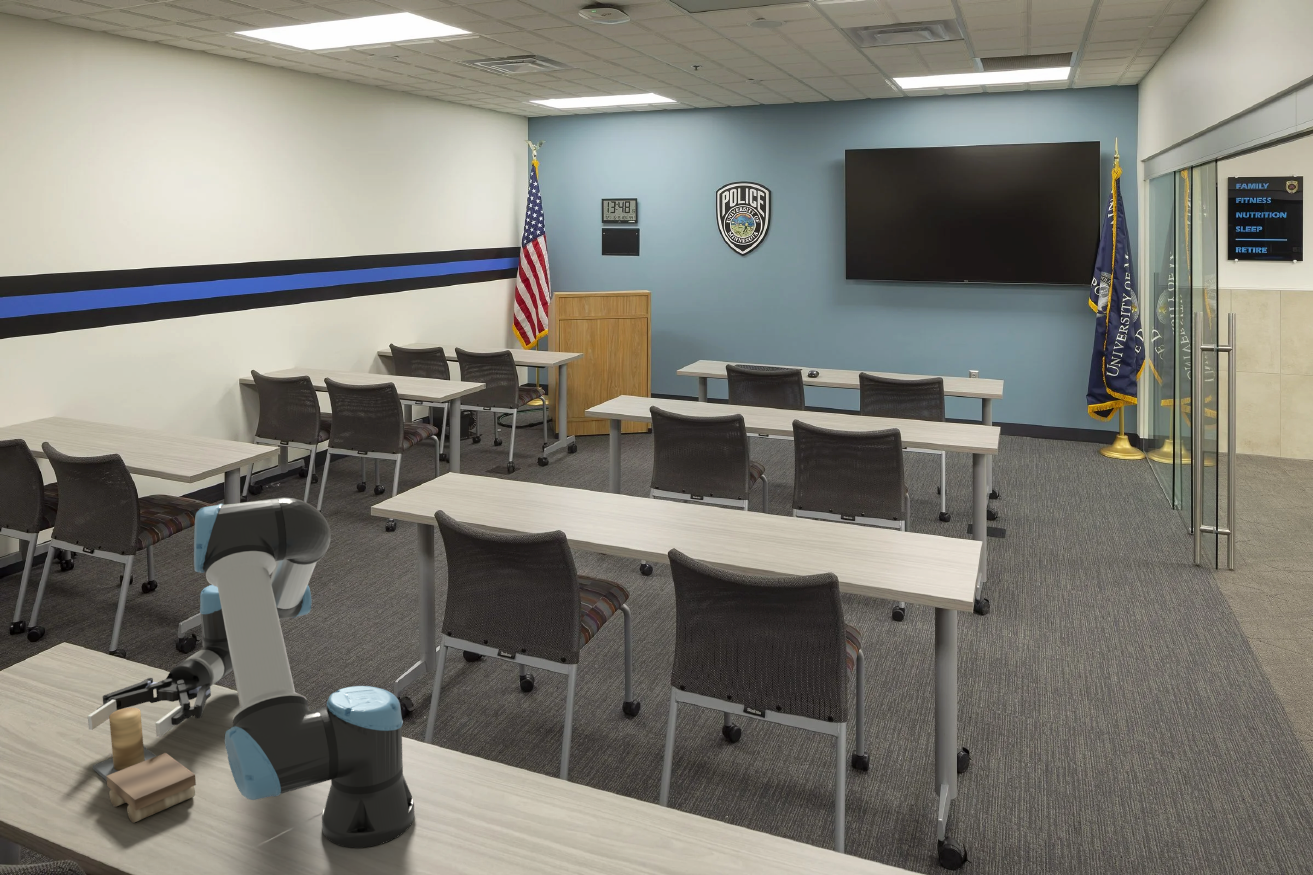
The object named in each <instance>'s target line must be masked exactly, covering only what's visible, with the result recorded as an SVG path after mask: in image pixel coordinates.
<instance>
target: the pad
mask: <svg viewBox="0 0 1313 875" xmlns="http://www.w3.org/2000/svg"><path fill="white" fill-rule="evenodd" d="M143 747H144V758H145V761H146V760H148V759H151V758H153V757H156V756H157V755H156V754H154V752H152V751H151V750H149V749H148V748H146V747H145V746H144V745H143ZM92 770H93V771H94V772H96V773H97V774H98V775H99V776H100V777H101V778H102V779H103V780H105V781H106V782H107V777H106V776H107V775H110V774H112V773H115V772H118V771H117V770H115V769H114V764H113V757H111V758H108V759H105V760H103V761H101V762H97V763H95V764H93V765H92Z"/></svg>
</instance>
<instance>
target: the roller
mask: <svg viewBox="0 0 1313 875" xmlns="http://www.w3.org/2000/svg"><path fill="white" fill-rule="evenodd" d="M141 713H142V712H141V709H139V708H138V707H127V708H124V709H120V710H117V711H115V712H113V713H112V714H111V715H110V716H109V719H108V720H109V730H110V742H111V750H112V751H111V752H112V758H113V764H114V769H115V770H117V771H120V770H123V769H125V768H128V767H130V766H133V765H135V764H138V763H141V762H143V761H145V758H144V747H145V746H144V739H143V738H144V737H143V725H142V714H141ZM143 746H144V747H143Z"/></svg>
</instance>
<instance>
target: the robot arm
mask: <svg viewBox="0 0 1313 875" xmlns="http://www.w3.org/2000/svg"><path fill="white" fill-rule="evenodd" d="M193 531H194V532H193V534H194V537H193V538H194V539H193V542H194V543H193V566H194V568H193V569H194V572H196V573H200V574H205V578H206V580H207V582H208V583H209V584H210V585H208V586H206V587H204V588H203V589H202V590H201V592H200V595H199V598H200V599H199V600H200V603H199V605H200V606H199V607H200V608H199V613H200V624H201V625H200V626H201V631H202V632H201V634H202V648H201V649H200V650H198V651H197V652H195V653H193V654H192V655H191V656H189V657H188V658H186V659H184V661H182V662H180V663H179V664H178V665H176V666H175V667H173V668H172V669H171V670H170V671H169V673H168V675H167V676H166V678H165V679H162V680H160V681H158V682H156V681H154V678H153V677H147V678H145V679H144V680H142V681H140V682H137V683H135V684H132V685H129V686H126V687H124V688H120V689H118V690H115V691H112V692H109V693H105V694H104V695H102V705H100V706H99V707H97V708H96V710H93V712H91V713H89V715H87V724H88V726H87V727H88V730H90V731H91V730H92V731H93V730H94V729H96V728H98V727H99V726H100V725H102V724H103V723H104V722H105V723H106V721H108V720H109V716H110V715H111V714H112V713H113V712H115V711H117V710H120V709H124V708H132V707H134V706H138V705H141V704H142V705H143V704H145V703H149V702H150V703H151V704H154V703H158V702H161V701H162V702H163V701H164V702H165V701H167V702H170V703H171V702H172V703H173V702H177V701H178V703H179V705H177V706H176V707H175V708H174V709H172V710H171V711H169V712H168V713H166V714H165V715H164V716H162V717H161V718H160V719H159V720H157V721H156V722H155V724H154V725H155V734H156V737H159V738H160V737H162V736H163V735H165V734H166V733H167V732H168V731H170V730H171V729H172V728H174V727H175V726H178V725H180V724H181V723H183V722H184V721H185V720H189V719H191V718H192V717H194V718H195V719H200V718H202V716H203V713H204V710H205V706H206V703H207V700H208V699H209V698H210V697H211V695H212V691H211V690H212V689H211V687H212V686H213V685H214V684H216V683H218V681H219V680H221V679H223V678H224V677H225V676H227V675H228V674H230V673H231V672H232V671H233V677H234V682H235V687H236V692H237V698H238V703H239V707H240V708H239V709H238V710H237V712H236V713H235V714H234V715H233V717H232V720H231V721H232V726H231V727H230V728H229V729H227V730H226V731H225V735H224V745H225V750H226V754H227V760H228V765H229V768H230V770H231V774H232V778H233V780H234V783H235V785H236V787H237V789H238V791H239V792H240V794H241V795H242V796H243V797H244V798H245V799H247V800H250V801H251V800H252V801H256V800H261V799H265V798H269V797H278V796H280V795H281V794H284V793H288V792H292V791H295V790H299V789H302V788H306V787H309V786H315V785H317V784H321V783H324V782H328V781H330V788H329V791H328V795H327V797H326V798H327V799H326V801H325V806H324V807H323V810H322V813H321V814H322V815H321V826H322V827H321V828H322V833H323V835H324V837H325V838H326V839H327V840H328V841H329V842H332V843H333V844H335V845H337V846H341V847H345V848H368V847H374V845H375V846H378V844H379V845H382V844H384V843H383V842H385V843H387V842H386V841H388V842H390V841H392V840H394V839H396V838H398V837H399V836H401V835H402V834H403V832H404V831H405V830H406V829H407V828H408V827H409V826H411V825H412V824H413V822H414V819H415V802H414V799H413V798H414V797H413V794H412V793H411V790H410V788H409V786H408V783H407V781H406V778H405V776H404V773H403V772H404V770H403V769H404V768H403V767H404V765H403V731H402V730H403V729H402V728H403V723H404V721H403V717H402V710H401V703H400V700H399V698H398V697H397V696H396V695H395V694H394V693H392V692H390V691H388V690H387V689H383V688H380V687H376V686H369V685H354V686H347V687H344V688H343V687H342V688H340V689H337V690H336V691H334V692H332V693H331V694H330V695H329V697H328V698H327V701H326V706H322V707H318V708H313V709H310V707H309V702H308V699H307V697H305V695H303V694H300V693H298V692H296V689H295V684H294V680H293V676H292V672H291V667H290V661H289V659H288V658H289V657H288V654H287V648H286V643H285V639H284V635H283V630H282V627H281V626H282V625H281V620H287V619H295V618H297V617H300V616H305V615H308V614H309V613H310V612H311V610H312V603H313V602H312V594H311V589H310V586H309V583H310V580H311V578H312V575H313V572H314V570H315V567H316V565H317V562H320V560H322V559H323V557H324V556H325V555H326V553H327V551H328V549H329V547H330V544H331V536H332V534H331V528H330V524H329V522H328V521H327V519H326V518H325V516H324V515H323V514H322V512H321V511H320V510H319V509H317V508H316V507H315V506H313V505H311V504H310V503H307V501H306V502H305V501H304V500H301V499H297V498H294V497H293V498H292V497H277V498H271V499H270V498H269V499H262V500H254V501H253V500H252V501H244V502H237V503H235V502H234V503H229V504H227V503H226V504H224V503H219V504H215V505H210V506H204V507H201V508H200V509H199V510H197V511H196V513H195V518H194V530H193ZM270 575H271V576H270ZM154 690H155V691H156V696H155V695H154ZM194 699H195V701H194V704H193V706H191V702H190V701H192V700H194ZM412 821H413V822H412ZM411 823H412V824H411ZM410 824H411V825H410ZM409 828H410V827H409ZM409 828H408V829H409ZM408 829H407V830H408ZM407 830H406V831H407ZM406 831H405V832H406ZM405 832H404V833H405ZM401 833H402V834H401ZM400 834H401V835H400ZM398 835H399V836H398ZM397 836H398V837H397ZM395 837H396V838H395ZM393 838H394V839H393ZM391 839H392V840H391ZM389 840H390V841H389ZM381 843H382V844H381Z"/></svg>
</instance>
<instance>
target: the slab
mask: <svg viewBox="0 0 1313 875" xmlns="http://www.w3.org/2000/svg"><path fill="white" fill-rule="evenodd" d="M106 777H107V781H106V786H107V787H108V788H109V789H110V790H109V794H108V795H109V800H110V803H111V804H112V806H113V807H115V808H117V807H118V806H121V805H124V804H127V808H126V810H127V811H126V812H127V816H128V818H129V820H130V821H131V823H133V824H134V823H136V822H139V821H141V820H144V819H146V818H148V817H151V816H153V815H154V814H157V813H159V812H161V811H162V812H163V811H164V810H167V809H169V808H171V807H173V806H175V805H178V804H180V803H183V802H184V801H187V800H189V799H192V798H193V797H195V795H196V790H195V789H196V788H195V786H196V785H197V782H196V774H195V773H194V772H192V771H191V770H189V768H187V767H186V766H184V765H183V764H182V763H180V762H179V761H178V760H176V758H173V757H172V756H171V755H169V754H168V753H167V752H163V753H161V754H159V755H156V757H153V758H151V759H148V760H146V761H143V762H141V763H138V764H135V765H133V766H130V767H128V768H125V769H123V770H120V771H118V772H115V773H112V774H110V775H107V776H106Z"/></svg>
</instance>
